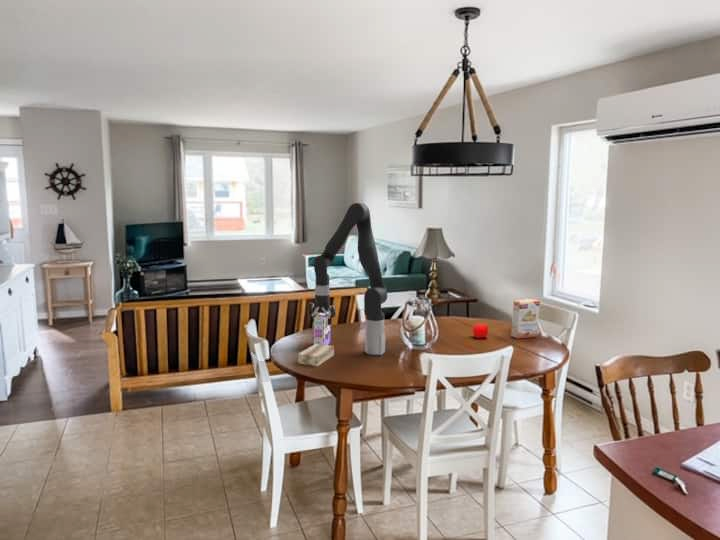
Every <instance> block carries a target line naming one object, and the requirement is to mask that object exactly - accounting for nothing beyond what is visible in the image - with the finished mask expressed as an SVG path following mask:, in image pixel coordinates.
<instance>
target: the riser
mask: <svg viewBox="0 0 720 540" xmlns="http://www.w3.org/2000/svg"><path fill="white" fill-rule="evenodd" d="M334 355H335V346H334V345H330V344H328V345H322V344H314V345H313V344H312V345H311V346H309V347H307V348H305V349H304V350H301V351H300V352H299V353H297V363H298V364H301V365H308V366H314V367H318V366H320V365H321V364H323V363H324V362H326V361H327V360H329V359H330V358H332V357H333V356H334Z"/></svg>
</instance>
